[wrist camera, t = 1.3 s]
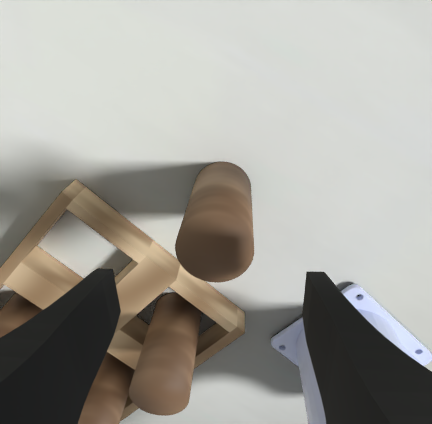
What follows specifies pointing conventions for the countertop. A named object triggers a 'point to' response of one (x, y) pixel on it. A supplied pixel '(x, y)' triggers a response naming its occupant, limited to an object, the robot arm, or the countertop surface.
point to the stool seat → (126, 312)
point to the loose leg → (217, 225)
